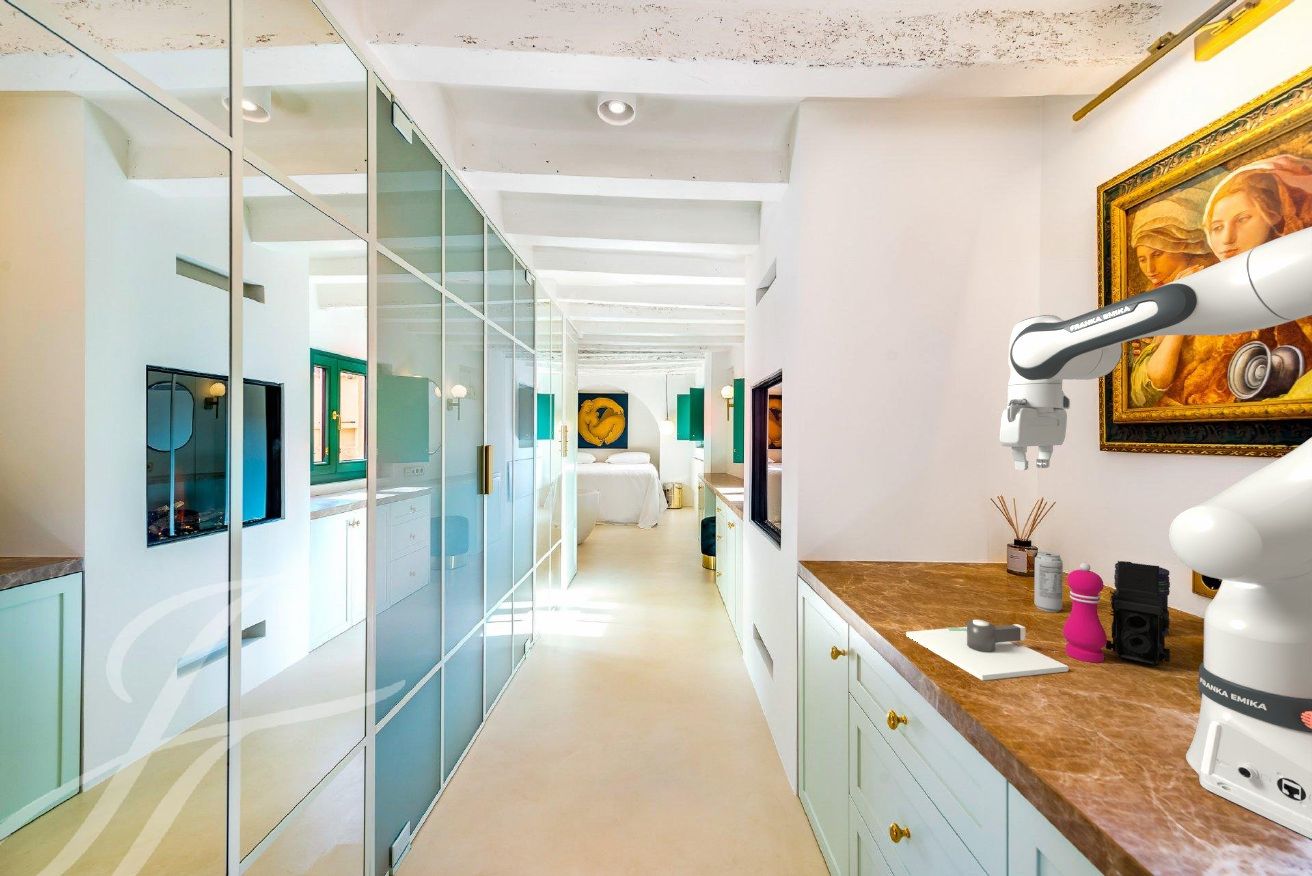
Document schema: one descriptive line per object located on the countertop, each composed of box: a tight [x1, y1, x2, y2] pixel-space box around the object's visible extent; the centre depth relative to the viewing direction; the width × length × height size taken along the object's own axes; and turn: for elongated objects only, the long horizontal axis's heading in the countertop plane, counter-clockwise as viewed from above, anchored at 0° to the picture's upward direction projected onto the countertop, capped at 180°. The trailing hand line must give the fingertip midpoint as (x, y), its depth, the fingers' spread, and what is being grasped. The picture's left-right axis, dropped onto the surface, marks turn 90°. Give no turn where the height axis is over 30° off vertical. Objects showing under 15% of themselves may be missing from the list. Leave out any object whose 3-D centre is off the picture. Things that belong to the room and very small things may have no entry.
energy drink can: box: [1033, 551, 1064, 613], centre depth 139 cm, size 6×6×15 cm
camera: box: [1105, 560, 1171, 666], centre depth 108 cm, size 10×14×20 cm
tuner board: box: [905, 626, 1069, 681], centre depth 112 cm, size 22×20×1 cm
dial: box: [966, 619, 1026, 652], centre depth 112 cm, size 13×5×5 cm, turn 101°
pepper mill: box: [1062, 562, 1108, 664], centre depth 110 cm, size 7×7×20 cm
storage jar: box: [1113, 562, 1171, 637], centre depth 125 cm, size 10×10×15 cm
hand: (1032, 468), depth 103 cm, fingers open, 8 cm apart
